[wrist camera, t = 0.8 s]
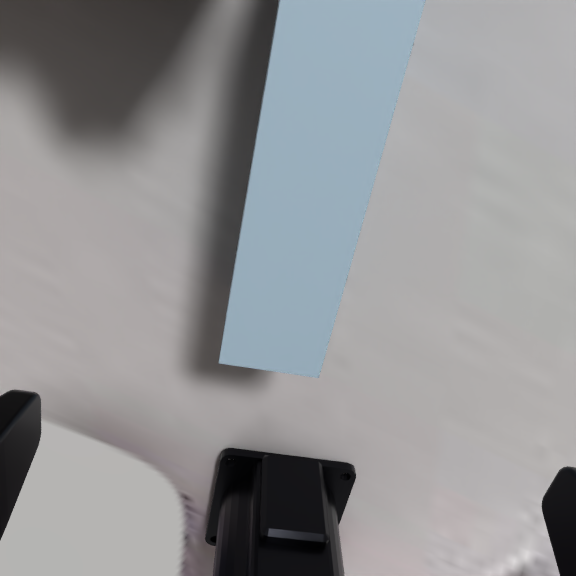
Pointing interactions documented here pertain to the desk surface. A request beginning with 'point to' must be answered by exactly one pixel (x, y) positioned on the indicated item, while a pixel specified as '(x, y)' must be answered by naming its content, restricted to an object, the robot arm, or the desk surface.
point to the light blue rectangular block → (313, 174)
